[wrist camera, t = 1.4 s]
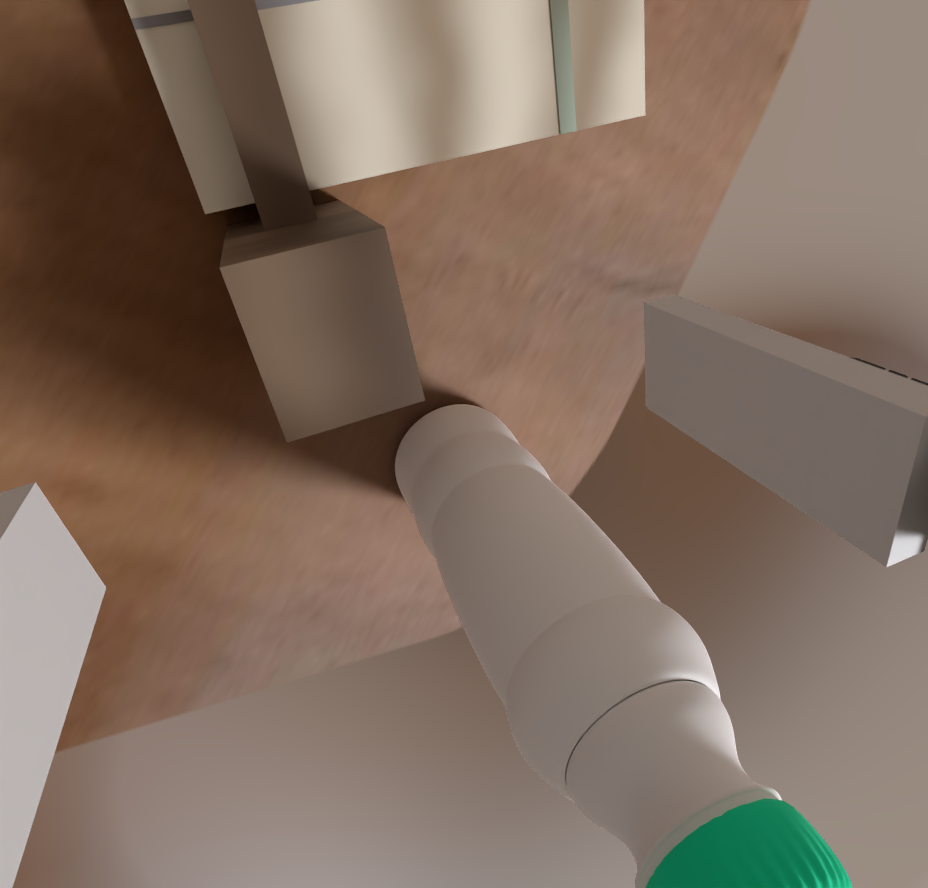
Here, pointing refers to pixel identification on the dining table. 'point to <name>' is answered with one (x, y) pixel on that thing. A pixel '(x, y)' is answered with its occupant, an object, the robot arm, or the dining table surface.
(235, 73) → the block with long handle
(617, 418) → the dining table surface
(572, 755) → the water bottle
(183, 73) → the board
